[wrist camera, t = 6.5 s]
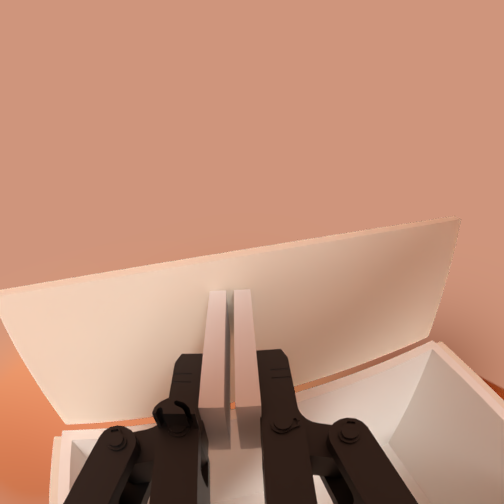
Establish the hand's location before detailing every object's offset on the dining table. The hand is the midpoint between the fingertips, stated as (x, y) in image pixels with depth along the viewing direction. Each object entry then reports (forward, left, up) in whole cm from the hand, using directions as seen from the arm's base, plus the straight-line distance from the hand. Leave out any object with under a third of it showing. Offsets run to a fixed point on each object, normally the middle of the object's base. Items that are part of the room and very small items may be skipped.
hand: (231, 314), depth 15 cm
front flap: (-2, 0, -2) cm, 3 cm away
